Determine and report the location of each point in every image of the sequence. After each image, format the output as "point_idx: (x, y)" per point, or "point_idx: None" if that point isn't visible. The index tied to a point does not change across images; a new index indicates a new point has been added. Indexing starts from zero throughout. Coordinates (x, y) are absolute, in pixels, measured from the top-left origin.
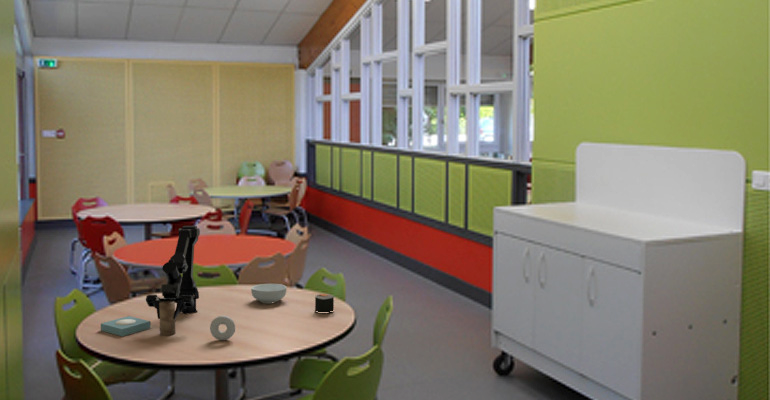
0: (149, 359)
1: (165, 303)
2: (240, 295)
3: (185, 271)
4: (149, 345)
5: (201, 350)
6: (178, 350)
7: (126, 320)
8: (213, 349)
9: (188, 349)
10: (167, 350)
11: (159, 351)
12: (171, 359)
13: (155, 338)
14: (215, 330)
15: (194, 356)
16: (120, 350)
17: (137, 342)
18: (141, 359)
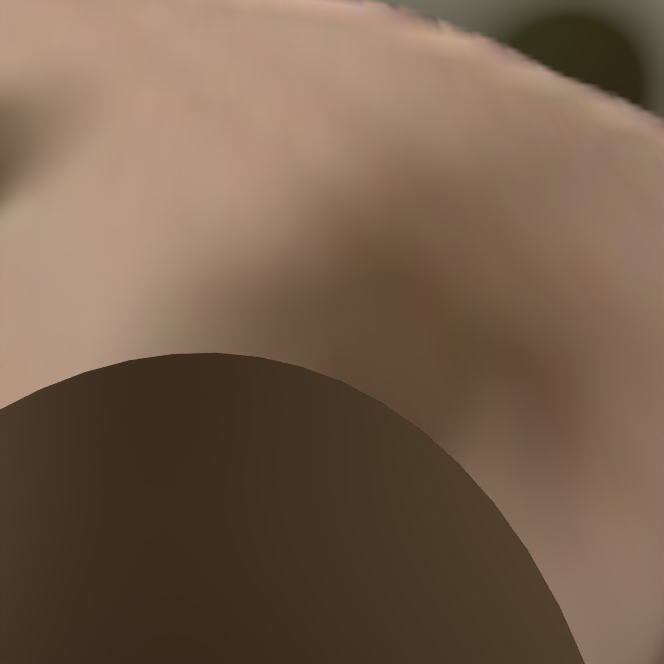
0: (381, 25)
1: (242, 606)
2: None
3: None
4: (426, 232)
5: (80, 92)
6: (220, 113)
7: None
8: (4, 95)
9: (155, 118)
10: (289, 123)
11: (339, 116)
12: (265, 10)
13: (408, 403)
14: None
15: (141, 25)
16: (606, 171)
17: (544, 318)
18: (425, 31)
